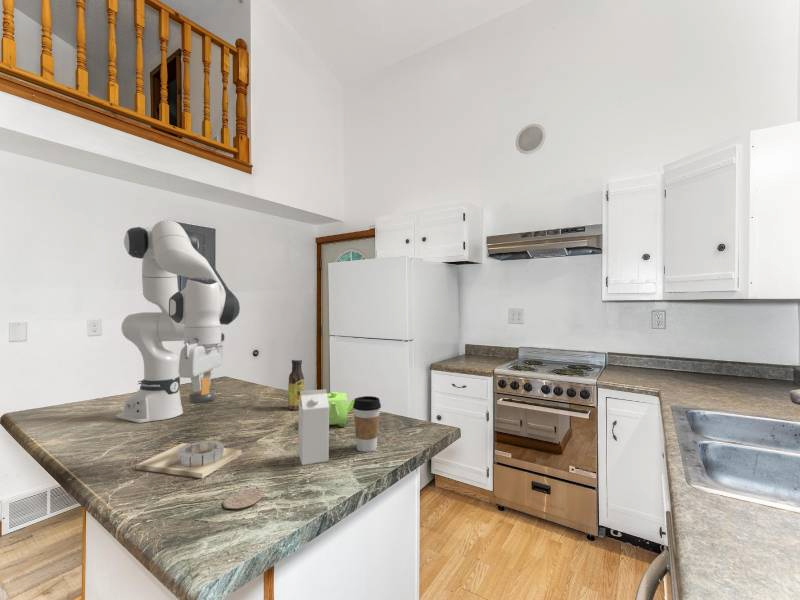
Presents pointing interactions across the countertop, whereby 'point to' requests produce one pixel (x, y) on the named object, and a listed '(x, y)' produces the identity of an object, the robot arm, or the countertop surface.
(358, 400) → the coffee cup
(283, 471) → the countertop surface
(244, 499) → the flatbread
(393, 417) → the countertop surface
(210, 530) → the countertop surface
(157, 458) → the board
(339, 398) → the kettle
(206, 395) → the orange dark-based block
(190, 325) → the robot arm
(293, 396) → the sauce bottle
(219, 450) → the faceted grey ring
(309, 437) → the milk carton
